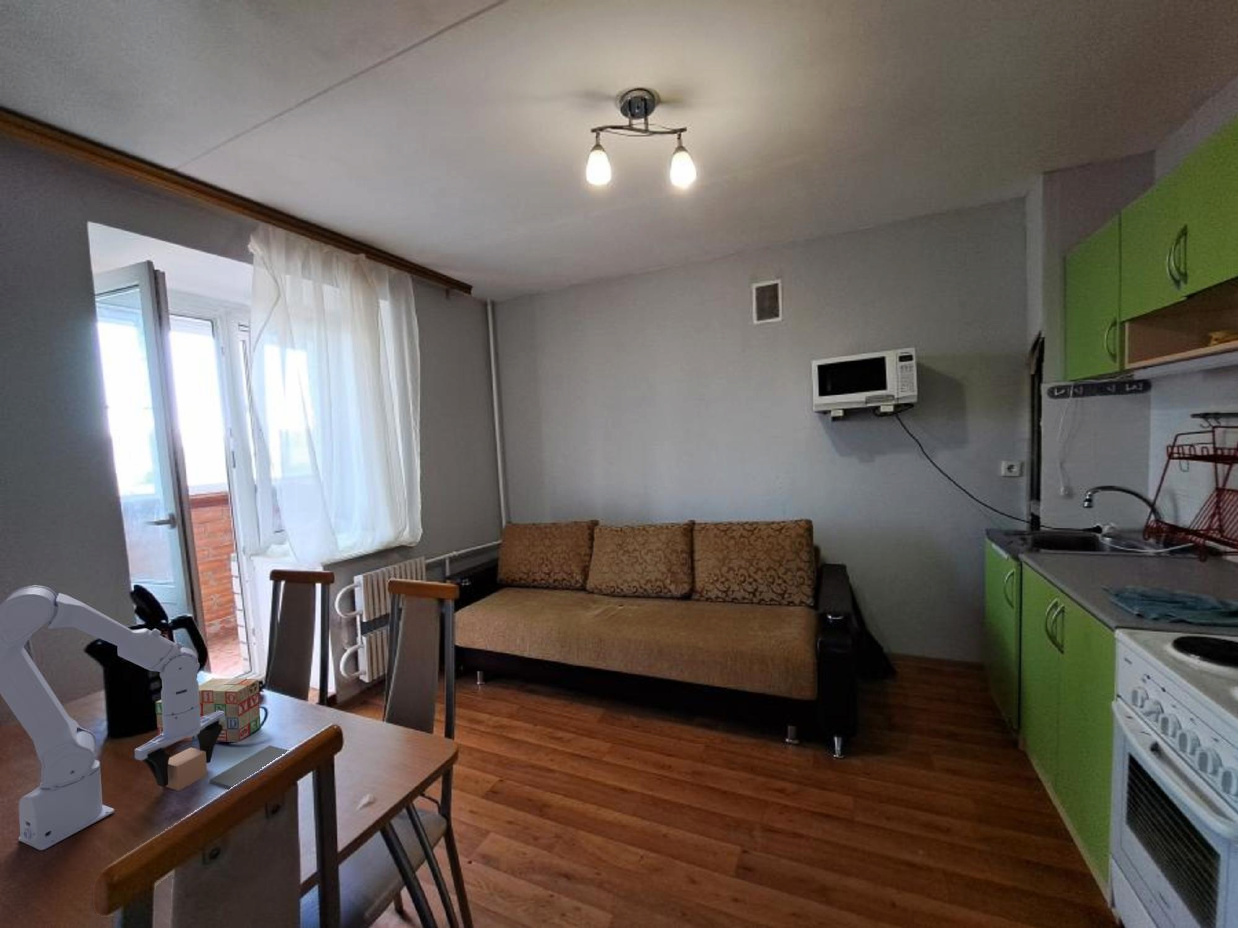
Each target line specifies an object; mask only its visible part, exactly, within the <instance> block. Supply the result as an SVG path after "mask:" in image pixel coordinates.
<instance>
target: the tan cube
mask: <svg viewBox="0 0 1238 928" xmlns="http://www.w3.org/2000/svg"><path fill="white" fill-rule="evenodd" d="M207 764H208V763H207ZM207 764H206V752H205V751H202V750H200V749H198V748H195V747H194V748H193V747H189V748H187V749H185V750H183V751H181V752H179V753H176V754H174V755H172V756H171V757H169V761H168V785H167V786H165V787H166V788H168V789H169V788H170V789H172V790H175V791H177V792H179V791H180V790H182V789H184V788H186V787H188V786H190V785H192V784H193V783H195V782H197V781H199V780H200V779H202V778H204V777H206V776H207V775H208V770H207V769H208V768H207ZM165 787H164V788H165Z"/></svg>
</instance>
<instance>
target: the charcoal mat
mask: <svg viewBox="0 0 1238 928" xmlns="http://www.w3.org/2000/svg"><path fill="white" fill-rule="evenodd" d="M287 751H289V749H285V748H282V747H277V746H274V745H268V746H266V747H264V748H263V749H261V750H259V751H258V752H256V753H254V754H252V755H250V756H248V757H247V758H245V759H244V760H242V761H240V762H238V763H236V764H235V765H233V766H231V767H229V768H228V769H226V770H224V771H222V772H221V773H219V774H217V775H215V776H213V777H211V778H210V779H209V783H210V784H213V785H217V786H219V787H221V788H222V787H223V788H226V789H229V790H231V789H230V788H231V787H233V786H234V785H236V784H238V783H239V782H241V781H242V780H244V779H246V778H247V777H249V776H250V775H252V774H254V773H255V772H257V771H259V770H260V769H262V767H264V766H266V765H267V764H269V763H270V762H272V761H273V760H275V759H276V758H278V757H280V756H282V754H285V753H286V752H287Z"/></svg>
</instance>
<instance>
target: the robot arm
mask: <svg viewBox="0 0 1238 928" xmlns="http://www.w3.org/2000/svg"><path fill="white" fill-rule="evenodd" d="M47 622H49V624H48V626H47V629H48V630H49V629H52V630H53V629H60V628H68V627H72V628H75V629H77V630H79V631H81V632H84V633H86V634H89V635H90V636H94V637H96V638H98V639H99V640H102V641H106V642H107V643H110V644H112V645H115V646H117V651H116V652H117V656H118V657H120V658H123V659H124V660H127V661H129V662H131V663H133V664H135V665H138V666H140V667H141V668H144V669H146V670H148V671H150V672H159V677H160V679H161V686H162V688H161V690H160V698H161V699H160V700H161V702H162V719H163V733H162V734H160V735H159V736H158V735H156V736H155V737H154V738H152V739H151V740H149V741H148V742H147V741H146V743H144V744H142V745H140V746H139V747H136V748H135V749H134V759H135V760H138V761H142V762H143V763H144V764H145V765H146V766H147V767H148V768H149V770H150V771H151V772H152V774H153V777H154V778H155V782H156V784H157V785H156V786H159V787H162V788H165V786H167V785H168V761H169V758H170V756H171V754H170V753H166V752H165V750H164V749H165V748H168V747H169V746H171V745H173V744H175V743H177V742H180V741H183V740H182V739H184V738H191V737H193V736H195V735H197V737H198V741H197V742H198V747H199V750H202V751H205V752H206V764H209V763H211V760H212V756H213V753H214V752H213V751H214V750H215V749H214V748H215V745H216V742H218V741H217V739H218V737H219V735H220V733H221V731H222V729H223V727H222V725H220V724H219V723H220V722H222V721H224V720H225V712H223V711H216V712H214V713H212V714H209V715H206V716H203V717H200V701H199V685H200V684H199V680H198V671H199V669H200V666H201V665H200V664H201V663H200V662H199V659H198V657H197V655H196V653H195V651H193V649H191V648H190V647H189V646H188V645H184V643H182V642H180V641H178V642H174V641H171V640H170V639H167V638H166V637H163V635H161V634H162V631H161V630H159V629H157V628H154V629H152V630H150V629H148V628H145V627H144V628H139V629H131V628H130V627H127V626H125V625H124V624H121V623H120V622H118V621H117V620H115V619H113V618H111V617H109V616H108V615H106V614H103V613H102V612H101V611H99V610H96V609H94V608H93V607H91V606H89V605H88V604H86V603H84V602H82V601H80V600H78V599H76V598H73V597H71V596H69V595H67V594H65V593H61V592H59V593H58V594H57V593H56V592H55V591H54V589H52V588H50V587H47V586H44V585H28V586H24V587H21V588H19V589H16V590H14V591H13V592H11V593H10V594H9V595H8V596H7V597H6V598H5V599H4V600H3V601H2V602H1V604H0V695H1V697H2V699H3V700H4V701H5V703H6V704H7V705H8V707H9V709H10V711H12V713H13V714H14V715H15V717H16V718H17V720H18V721H19V723H20V725H21V726H22V728H23V729H24V730H25V731H26V733H27V734H28V736H29V738H30V739H31V740H32V742H33V744H34V748H35V751H36V752H35V753H36V755H37V758H38V759H39V760H40V763H41V772H40V776H41V780H40V784H39V786H38V787H36V788H35V789H33V790H32V791H31V792H28V793H27V794H25V795H24V796H22V797H20V799H19V801H18V818H19V819H18V821H19V835H20V836H19V837H18V841H20V842H22V843H24V844H26V845H29V846H30V847H33V848H35V849H37V850H39V851H44V850H47V849H48V848H50V847H52V846H53V845H56V844H57V843H59V842H61V841H63V840H65V839H67V838H68V837H70V836H72V835H74V834H76V833H78V832H79V831H82V830H84V829H86V828H87V827H90V826H91V825H93V824H94V823H96V822H98V821H100V820H102V819H104V818H106V817H108V816H109V815H111V814H113V813H114V812H115V808H112V807H110V806H107V805H106V804H103V792H102V778H101V774H102V773H101V763H100V761H99V760H98V759H96V756H95V745H96V742H97V739H96V735H95V733H94V732H92V730H89V729H86V728H83V727H81V726H80V725H79V724H78V722H77V720H75V719H73V718H72V717H71V716H70V715H69V714H68V712H67V711H66V709H65V708H64V705H62V703H61V702H60V700H59V699H58V697H57V696H56V694H55V692H54V691H53V690H52V688H51V686H50V685H49V683H48V682H47V680H46V679H45V678H44V675H43V674H42V673H41V672H40V670H39V669H38V667H37V666H36V664H35V662H34V660H33V659H32V658H31V656H30V655H29V653H28V652H27V650H26V648H25V645H26V644H27V643H28V640H29V639H30V638H31V637H32V636H33V634H34V633H35V632H37V630H40V629H41V628H42V627H43V626H44V625H45V624H46V623H47Z"/></svg>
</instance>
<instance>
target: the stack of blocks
mask: <svg viewBox="0 0 1238 928" xmlns="http://www.w3.org/2000/svg"><path fill="white" fill-rule="evenodd" d="M259 682H260V679H258V678H257V679H255V678H247V677H246V678H245V677H244V678H243V677H236V678H235V677H234V678H232V677H230V678H229V677H228V678H221V677H217V678H211V679H209V680H207V681H205V682H202V683H201V684H199V701H200V717H203V716H206V715H209V714H212V713H214V712H216V711H223V712H225V720H224V721H222V722H220V723H219V724H220V725H222V727H223V729H222V731H221V733H220V735H219V737H218V739H217V741H216V742H222V743H223V742H224V743H225V742H229V743H240V742H241V741H244V739H246V738H247V737H249V736H251V735H252V734H253V733H255V732H256V731H257V730H259V729H260V728H261V712H260V711H261V709H260V708H261V706H260V701H261V699H260V683H259ZM154 703H155V714H156V726H157V736H159V735H160V734H162V733H163V719H162V702H161V699H159V700H157V701H155V702H154ZM181 741H188V742H189V741H191V742H192V741H197V742H199V741H198V737H197V735H195V736H193V737H191V738H184V739H182V740H181Z"/></svg>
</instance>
